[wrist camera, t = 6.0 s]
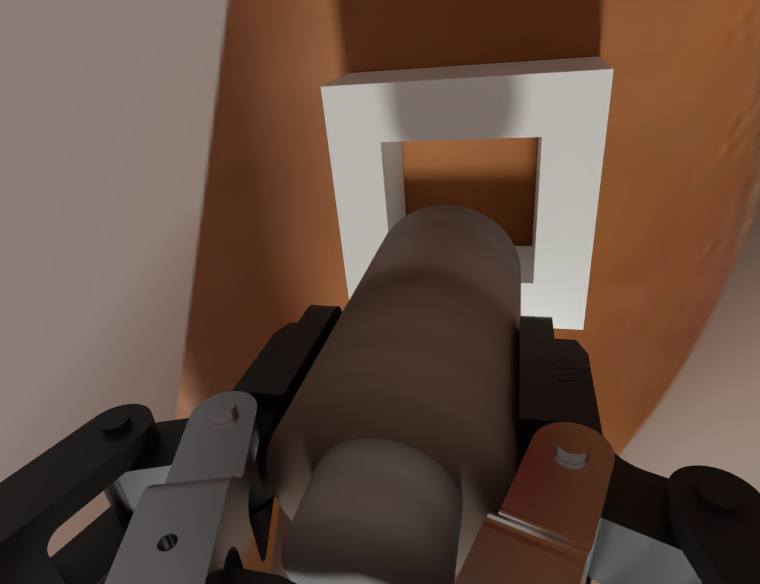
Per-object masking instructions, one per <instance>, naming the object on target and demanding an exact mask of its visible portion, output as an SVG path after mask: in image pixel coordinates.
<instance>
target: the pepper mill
mask: <svg viewBox="0 0 760 584" xmlns="http://www.w3.org/2000/svg"><path fill="white" fill-rule="evenodd" d="M520 316H521V265H520V260H519V256H518V253H517V250H516V248H515V246H514V244H513V242H512V240H511V239H510V237H509V236H508V235H507V233H506V232H505V231H504V230H503V229H502V228H501V227H500V226H499V225H498V224H497V223H496V222H494V221H493V220H492V219H490V218H489V217H487V216H486V215H484V214H482V213H480V212H477V211H475V210H473V209H469V208H466V207H462V206H456V205H434V206H429V207H425V208H422V209H419V210H416V211H414V212H412V213H410V214H408V215H406V216H405V217H403V218H402V219H401V220H399V221H398V222H397V223H396V224H395V225H394V226H393V227H392V228H391V230H390V231H389V232H388V233H387V235H386V237H385V238H384V240H383V242H382V244H381V245H380V247H379V249H378V251H377V252H376V254H375V256H374V258H373V259H372V261H371V263H370V265H369V266H368V268H367V270H366V272H365V273H364V275H363V277H362V279H361V281H360V282H359V284H358V286H357V288H356V289H355V291H354V293H353V295H352V296H351V298H350V300H349V302H348V303H347V305H346V307H345V309H344V310H343V312H342V314H341V316H340V317H339V319H338V321H337V323H336V325H335V326H334V328H333V330H332V332H331V333H330V335H329V337H328V339H327V340H326V342H325V344H324V346H323V347H322V349H321V351H320V353H319V354H318V356H317V358H316V360H315V361H314V363H313V365H312V367H311V369H310V370H309V372H308V374H307V376H306V377H305V379H304V381H303V383H302V384H301V386H300V388H299V390H298V391H297V393H296V395H295V397H294V398H293V400H292V402H291V404H290V405H289V407H288V409H287V411H286V413H285V414H284V416H283V418H282V420H281V421H280V423H279V425H278V427H277V428H276V430H275V432H274V434H273V435H272V437H271V440H270V443H269V446H268V450H267V456H266V470H267V475H268V480H269V483H270V486H271V489H272V492H273V494H274V496H275V498H276V500H277V501H278V503H279V505H280V506H281V508H282V509H283V511H284V512H285V514H286V515H287V516H288V517H289V518H290V519H291V521H292V523H291V525H290V527H289V530H288V532H287V534H286V536H285V539H284V541H283V543H282V547H281V560H282V564H283V567H284V570H285V572H286V574H287V576H288V577H289V579H290V580H291V581H293V582H294V583H296V584H454V580H455V575H457V574H459V572H460V570H461V568H462V566H463V564H464V562H465V560H466V557H467V555H468V553H469V551H470V549H471V547H472V545H473V543H474V540H475V538H476V536H477V534H478V532H479V530H480V528H481V526H482V524H483V522H484V520H485V518H486V516H487V515H488V514H489V513H490V512H495V513H497V514H498V512H499V511H500V509H501V507H502V504H503V502H504V500H505V498H506V496H507V493H508V491H509V489H510V487H511V484H512V482H513V480H514V478H515V475H516V473H517V471H518V469H519V467H520V461H519V450H518V373H519V322H520Z"/></svg>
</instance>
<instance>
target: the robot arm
mask: <svg viewBox="0 0 760 584" xmlns="http://www.w3.org/2000/svg"><path fill="white" fill-rule="evenodd" d="M341 314H342V310H341V308H340V307H339V306H321V305H310V306H309V307H308V308H307V310H306V311H305V313H304V314H303V316H302V317H301V319H300V320H299V322H298V323H289V324H288V325H286V326H285V327H283V328H282V329H280V330H279V331H277V332H276V333H274V335H273V336H272V337H271V339H270V340H269V341H268V343H267V344H266V345H265V348H263V350H262V351H261V352H260V354H259V355H258V358H257V359H255V360H254V362H253V363H252V365H251V366H250V367H249V369H248V370H247V371H246V373H245V374H244V375H243V377H242V378H241V380H240V381H239V382H238V384H237V385H236V386H235V388H234V389H233V390H232V391H228V392H222V393H219V394H216V395H213V396H211V397H209V398H207V399H205V400H204V401H202V402H201V403H200V404H198V405H197V406H196V407H195V408H194V410H193V411H192V413H191V415H190V417H189V418H186V419H179V420H172V421H164V422H157V423H155V420H154V418H153V415H152V413H151V410H150V409H149V408H148V407H146V406H144V405H140V404H126V405H121V406H117V407H114V408H111V409H109V410H107V411H105V412H103V413H101V414H99V415H98V416H96V417H95V418H93V419H92V420H90V421H89V422H87V423H86V424H85V425H83V426H82V427H80V428H79V429H77V430H76V431H75V432H73V433H72V434H70V435H69V436H67V437H66V438H64V439H63V440H61V441H60V442H59V443H57V444H56V445H54V446H53V447H51V448H50V449H48V450H47V451H45V452H44V453H43V454H41V455H40V456H38V457H37V458H35V459H34V460H33V461H31V462H30V463H28V464H27V465H25V466H24V467H22V468H21V469H20V470H18V471H17V472H15V473H14V474H12V475H11V476H9V477H8V478H6V479H5V480H4V481H2V482H1V483H0V584H296V583H294V582H293V581H291V580H290V579H289V577H288V576H287V574H286V572H285V570H284V567H283V564H282V560H281V547H282V543H283V541H284V539H285V536H286V534H287V532H288V530H289V527H290V525H291V523H292V521H291V519H290V518H289V517H288V516H287V515H286V514H285V512H284V511H283V509H282V508H281V506H280V505H279V503H278V501H277V500H276V498H275V496H274V494H273V492H272V489H271V486H270V483H269V480H268V475H267V470H266V456H267V450H268V446H269V443H270V440H271V437H272V435H273V434H274V432H275V430H276V428H277V427H278V425H279V423H280V421H281V420H282V418H283V416H284V414H285V413H286V411H287V409H288V407H289V405H290V404H291V402H292V400H293V398H294V397H295V395H296V393H297V391H298V390H299V388H300V386H301V384H302V383H303V381H304V379H305V377H306V376H307V374H308V372H309V370H310V369H311V367H312V365H313V363H314V361H315V360H316V358H317V356H318V354H319V353H320V351H321V349H322V347H323V346H324V344H325V342H326V340H327V339H328V337H329V335H330V333H331V332H332V330H333V328H334V326H335V325H336V323H337V321H338V319H339V317H340V316H341ZM518 450H519V461H520V467H519V469H518V471H517V473H516V475H515V478H514V480H513V482H512V484H511V487H510V489H509V491H508V493H507V496H506V498H505V500H504V502H503V504H502V507H501V509H500V511H499V512H498V514H497V513H495V512H490V513H489V514H488V515H487V516H486V518H485V520H484V522H483V524H482V526H481V528H480V530H479V532H478V534H477V536H476V538H475V540H474V543H473V545H472V547H471V549H470V551H469V553H468V555H467V557H466V560H465V562H464V564H463V566H462V568H461V570H460V572H459V574H458V577H457V579H456V581H455V583H454V584H592V580H594V581H597V582H598V583H601V584H760V493H759V492H758V491H757V490H756V489H755V488H754V487H752V486H751V485H750V484H749V483H747V482H746V481H744V480H743V479H741V478H739V477H737V476H735V475H734V474H731V473H729V472H727V471H724V470H721V469H718V468H714V467H709V466H699V465H698V466H687V467H683V468H681V469H678V470H677V471H675V472H674V473H673V474H672V475H671V476H670V477H669V479H668V478H665V477H662V476H659V475H656V474H654V473H651V472H648V471H645V470H642V469H640V468H637V467H635V466H633V465H631V464H629V463H628V462H626V461H624V460H623V459H621V458H620V457H619V456H618V455H616V454H615V453H614V451H613V448H612V446H611V445H610V443H609V442H608V441H607V439H606V438H605V437H603V434H602V429H601V423H600V418H599V412H598V407H597V401H596V395H595V390H594V385H593V379H592V373H591V368H590V362H589V357H588V353H587V352H586V351H585V350H584V349H583V348H582V347H581V345H580V344H579V343H578V342H577V341H576V340H567V339H554V330H553V319H552V317H537V316H520V322H519V373H518ZM103 490H104V492H105V495H106V497H107V499H108V501H109V503H110V505H111V507H109V508H108V509H107V510H106V511H105V512H104V513H103V514H101V515H100V516H99V517H98V518H97V519H95V520H94V521H93V522H92V523H91V524H90V525H88V526H87V527H86V528H85V529H84V530H83V531H81V532H80V533H79V534H78V535H77V536H75V537H74V538H73V539H72V540H71V541H70V542H68V543H67V544H66V545H65V546H64V547H63V548H61V549H60V550H59V551H58V552H57V553H56V554H54V555H53V556H52V557H51V558H50V557H49V555H48V552H47V546H48V542H49V540H50V537H51V536H52V535H53V533H54V532H55V531H56V529H57V528H58V527H60V526H61V525H62V524H63V523H64V522H66V521H67V520H68V519H69V518H70V517H72V516H73V515H74V514H75V513H76V512H78V511H79V510H80V509H81V508H83V507H84V506H85V505H86V504H88V503H89V502H90V501H91V500H92V499H94V498H95V497H96V496H97V495H99V494H100V493H101V492H102V491H103Z"/></svg>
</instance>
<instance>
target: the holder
mask: <svg viewBox="0 0 760 584" xmlns="http://www.w3.org/2000/svg"><path fill="white" fill-rule="evenodd" d="M613 70H614V69H613V68H612V67H611V66H610V65H609V64H608V63H607V62H606V61H605V60H603V59H602V58H601V57H600V56H598V57H583V58H567V59H552V60H537V61H522V62H507V63H492V64H477V65H462V66H447V67H432V68H417V69H402V70H387V71H372V72H357V73H348V74H346V75H344V76H342V77H340V78H337V79H335V80H333V81H331V82H329V83H327V84H325V85H323V86H321V93H322V100H323V108H324V115H325V123H326V130H327V138H328V145H329V153H330V160H331V168H332V175H333V183H334V190H335V198H336V205H337V213H338V220H339V228H340V235H341V243H342V250H343V258H344V265H345V273H346V280H347V288H348V295H349V300H350V298H351V296H352V295H353V293H354V291H355V289H356V288H357V286H358V284H359V282H360V281H361V279H362V277H363V275H364V273H365V272H366V270H367V268H368V266H369V265H370V263H371V261H372V259H373V258H374V256H375V254H376V252H377V251H378V249H379V247H380V245H381V244H382V242H383V240H384V238H385V237H386V235H387V233H388V232H389V231H390V230H391V228H392V227H393V226H394V225H395V224H396V223H397V222H398V221H399V220H401V219H402V218H403V217H405V216H406V206H405V191H404V176H403V161H402V146H401V141H430V140H461V139H492V138H522V137H538V152H537V170H536V188H535V205H534V223H533V241H532V246H515V248H516V250H517V253H518V256H519V260H520V265H521V316H537V317H552V319H553V328H560V329H580V330H583V326H584V318H585V309H586V301H587V292H588V284H589V275H590V266H591V258H592V249H593V241H594V232H595V224H596V215H597V207H598V198H599V190H600V181H601V173H602V164H603V155H604V147H605V138H606V130H607V121H608V113H609V104H610V96H611V87H612V79H613Z"/></svg>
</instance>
